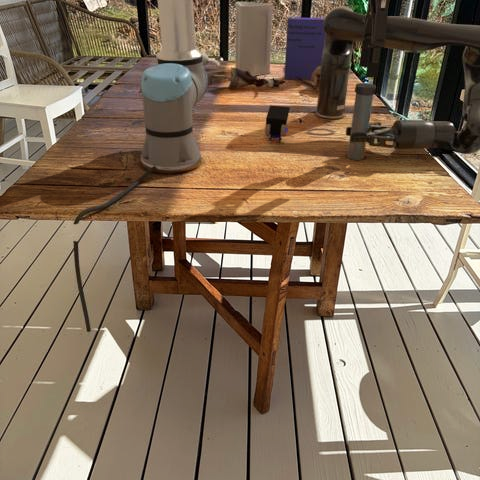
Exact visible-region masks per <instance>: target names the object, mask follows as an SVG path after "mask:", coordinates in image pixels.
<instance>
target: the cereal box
mask: <svg viewBox="0 0 480 480" xmlns="http://www.w3.org/2000/svg"><path fill="white" fill-rule="evenodd" d="M324 19H325V17H291V16H290V17H287V23H286V24H287V25H286V40H285V41H286V42H285V56H284V57H285V58H284V59H285V60H284V74H283V78H284V79H283V80H297V79H296V77H299V78H301V79H303V80H305V81H306V80H307V81H308V80H309V81H311V75H312V73H313V72H314V71H315V70H316V68H317V67H319V66H321V59H322V52H323V48H324V42H325V31H324V28H323V23H324Z"/></svg>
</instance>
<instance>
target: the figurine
mask: <svg viewBox="0 0 480 480" xmlns="http://www.w3.org/2000/svg"><path fill="white" fill-rule="evenodd" d="M230 69H231V72H230V73H231V74H230V76H229V75H225V74H213V73H211V74H210V78H209V85H212V84H213V83H214V79H215V78H216V79H223V80H227V81H229V84H228V88H229V89H241V88H247V87H249V86H255V87H256V88H262V87H268V88H271V89H273V88H280V86H281V85H284V84H286V83H287V79H275V78H274V77H272V78H265V77H262V78H261V77H257V76H252V75H251V73H250V72H249V71H245V72H244V71H242V70H240V69H237V68H235V67H232V66H231V67H230Z"/></svg>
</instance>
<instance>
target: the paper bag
mask: <svg viewBox="0 0 480 480" xmlns="http://www.w3.org/2000/svg"><path fill="white" fill-rule="evenodd" d="M273 8H274V4H273V3H269V2H267V3H266V2H265V3H264V2H252V1H235V59H234V60H235V62H234V63H235V65H234V66H235V67H234V68H237V69H240V70H242V71H244V72H245V71H249V72H250V73H251V75H252V76H256V77H257V76H259V75H260V76H261V75H266V74H270V73H271V56H272V55H271V54H272V33H273V32H272V31H273V10H274V9H273Z"/></svg>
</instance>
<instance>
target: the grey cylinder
mask: <svg viewBox="0 0 480 480" xmlns="http://www.w3.org/2000/svg"><path fill="white" fill-rule="evenodd" d="M374 95H375V94H372V95H363V94H358V93H356V92H355V97H354V104H353V111H352V119H351V126H350V127H351V132H350V134H351V133H365V135H366V133H368V128H369V123H370V120H371V113H372V107H373V101H374ZM366 146H367V144H366V143H365V142H351V141H350V139H349V141H348V148H347V155H346V157H347V158H348V159H349V160H353V161H362V160H364V159H365V152H366Z"/></svg>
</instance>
